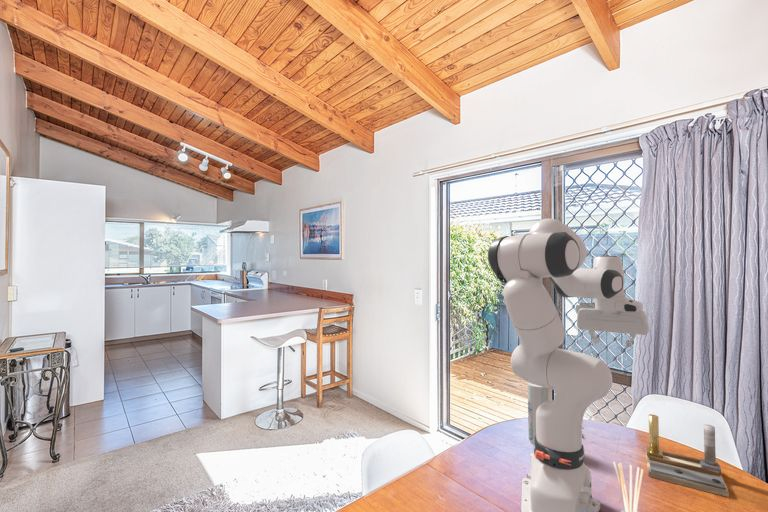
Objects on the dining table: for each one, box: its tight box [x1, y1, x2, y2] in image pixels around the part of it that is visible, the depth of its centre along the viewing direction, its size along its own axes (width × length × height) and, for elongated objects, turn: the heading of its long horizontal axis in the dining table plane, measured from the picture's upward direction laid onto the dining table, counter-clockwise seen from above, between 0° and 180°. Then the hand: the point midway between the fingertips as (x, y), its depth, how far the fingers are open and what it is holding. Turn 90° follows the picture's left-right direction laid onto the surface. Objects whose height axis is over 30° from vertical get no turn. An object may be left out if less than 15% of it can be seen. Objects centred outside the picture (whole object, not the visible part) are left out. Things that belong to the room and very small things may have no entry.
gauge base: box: [645, 424, 730, 498], centre depth 105 cm, size 14×17×14 cm
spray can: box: [527, 382, 549, 446], centre depth 124 cm, size 6×6×20 cm
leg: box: [645, 414, 663, 458], centre depth 111 cm, size 4×4×12 cm
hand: (612, 344), depth 119 cm, fingers open, 8 cm apart
